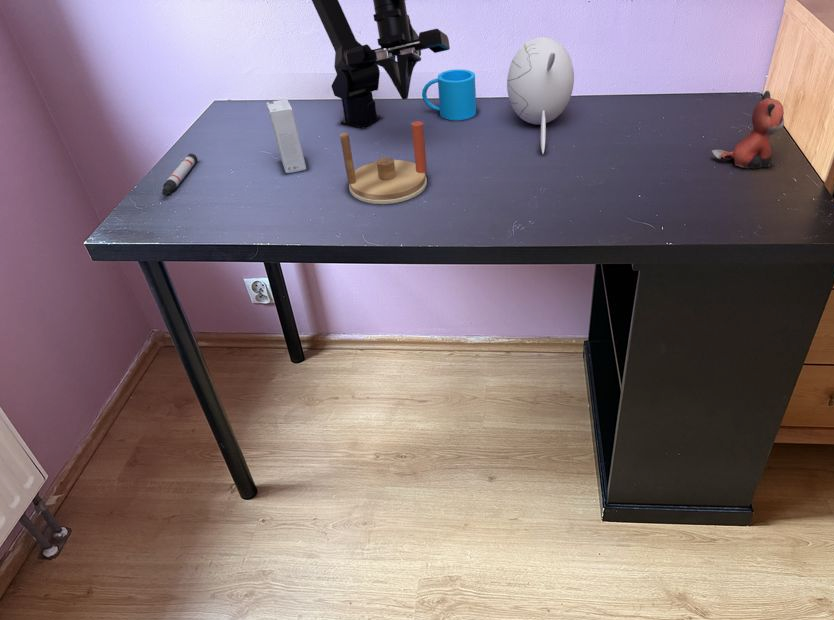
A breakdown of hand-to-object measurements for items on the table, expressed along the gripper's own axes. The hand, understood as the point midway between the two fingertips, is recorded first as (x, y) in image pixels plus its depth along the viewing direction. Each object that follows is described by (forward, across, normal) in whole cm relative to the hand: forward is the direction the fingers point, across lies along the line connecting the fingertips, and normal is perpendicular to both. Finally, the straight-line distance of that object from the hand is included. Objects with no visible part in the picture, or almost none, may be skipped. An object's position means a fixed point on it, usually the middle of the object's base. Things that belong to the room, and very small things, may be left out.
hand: (404, 98), depth 123 cm
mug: (+1, -1, -27) cm, 27 cm away
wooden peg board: (+14, +4, +6) cm, 16 cm away
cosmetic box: (+8, +25, +2) cm, 26 cm away
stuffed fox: (+21, -59, -15) cm, 64 cm away
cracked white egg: (+8, -21, -22) cm, 32 cm away
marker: (+8, +44, +11) cm, 46 cm away
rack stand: (+15, +4, +6) cm, 17 cm away
